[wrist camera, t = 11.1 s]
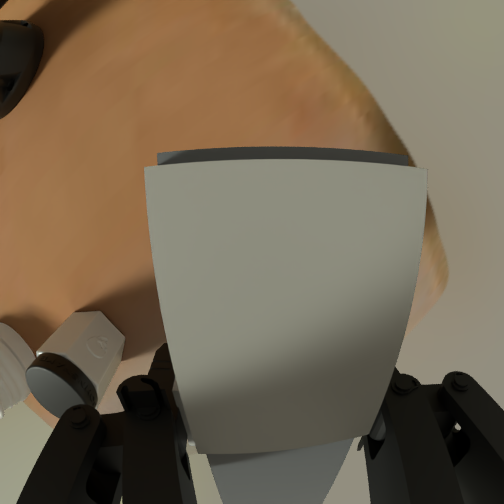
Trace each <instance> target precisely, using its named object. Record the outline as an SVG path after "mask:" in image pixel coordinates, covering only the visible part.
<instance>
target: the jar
mask: <svg viewBox="0 0 504 504" xmlns="http://www.w3.org/2000/svg"><path fill="white" fill-rule="evenodd" d="M124 343H125V336H124V335H123V334H122V333H121V332H120V331H119V330H118V329H117V328H116V327H115V326H114V325H113V324H112V323H111V322H110V321H109V320H108V319H107V317H106V316H105V315H104V314H103V313H102V312H101V311H90V312H74V313H72V314H71V315H70V316H69V317H68V318H67V319H66V320H65V321H64V322H63V323H62V324H61V325H60V326H59V328H58V329H57V330H56V331H55V332H54V333H53V334H52V335H51V336H50V337H49V338H48V339H47V340H46V341H45V342H44V344H43V345H42V346H41V347H40V348H39V349H38V350H37V352H36V354H37V358H36V359H35V360H34V361H33V362H32V363H31V365H30V366H29V367H28V368H27V370H26V374H25V376H26V382H27V385H28V387H29V389H30V391H31V393H32V394H33V396H34V397H35V398H36V400H37V401H38V402H39V403H40V404H41V405H42V406H43V407H44V408H45V409H46V410H48V411H49V412H50V413H51V414H53V415H54V416H56V417H58V418H61V416H62V414H63V413H64V412H65V411H66V410H67V409H68V408H70V407H72V406H74V405H79V404H88V405H90V406H92V407H94V408H95V409H97V408H98V406H99V404H100V402H101V400H102V398H103V396H104V394H105V392H106V390H107V388H108V386H109V384H110V382H111V380H112V378H113V376H114V374H115V372H116V370H117V368H118V366H119V365H120V363H121V358H122V353H123V348H124Z"/></svg>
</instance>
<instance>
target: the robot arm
mask: <svg viewBox="0 0 504 504" xmlns="http://www.w3.org/2000/svg"><path fill="white" fill-rule="evenodd" d="M7 1H8V0H0V9H1V8H2V7H3V6H4V4H5V3H6V2H7ZM43 45H44V37H43V33H42V30H41V29H40V28H39V27H38V26H36V25H35V24H33V23H31V22H29V21H24V20H0V119H1V118H3V117H4V116H5V115H7V114H8V113H9V112H10V111H11V110H12V109H13V108H14V107H15V105H16V104H17V103H18V102H19V100H20V99H21V98H22V96H23V95H24V93H25V91H26V90H27V88H28V87H29V85H30V83H31V81H32V79H33V77H34V75H35V73H36V70H37V68H38V65H39V62H40V59H41V56H42V52H43ZM116 393H117V395H118V397H119V399H120V402H121V404H122V406H123V408H124V410H125V411H123V412H119V413H112V414H102V415H100V414H99V412H98V411H97V410H96V409H95V408H94V407H92V406H90V405H88V404H79V405H74V406H72V407H70V408H68V409H67V410H66V411H65V412H64V413H63V414H62V416H61V418H60V419H59V421H58V423H57V425H56V426H55V428H54V430H53V432H52V434H51V436H50V437H49V439H48V441H47V443H46V444H45V446H44V448H43V450H42V452H41V454H40V456H39V458H38V459H37V461H36V464H35V465H34V468H33V469H32V471H31V474H30V475H29V477H28V479H27V482H26V484H25V486H24V488H23V490H22V492H21V494H20V497H19V499H18V501H17V503H16V504H120V501H121V497H122V503H123V504H197V500H196V495H195V490H194V485H193V480H192V474H191V469H190V463H189V457H188V454H187V452H186V444H187V439H188V442H189V445H190V446H195V443H194V440H193V436H192V433H191V430H190V427H189V424H188V420H187V417H186V414H185V410H184V407H183V403H182V400H181V396H180V392H179V389H178V385H177V381H176V377H175V373H174V369H173V365H172V361H171V356H170V352H169V348H168V343H164V344H163V345H162V346H161V347H160V348H159V349H158V350H157V351H156V353H155V356H154V359H153V362H152V364H151V367H150V370H149V372H148V375H137V376H132V377H130V378H128V379H126V380H124V381H123V382H122V383H121V384H120V385H119V387H118V389H117V391H116ZM457 423H458V424H459V425H460V426H461V429H460V430H457V429H455V425H456V424H457ZM363 445H364V452H365V458H366V466H367V474H368V482H369V491H370V501H371V504H504V411H503V409H502V408H501V407H500V406H499V405H498V404H497V403H496V402H495V401H494V400H493V399H492V397H491V396H490V395H489V394H488V393H487V392H486V391H485V390H484V389H483V388H482V387H481V386H480V385H479V384H478V383H477V382H476V381H475V380H474V379H473V378H472V377H471V376H470V375H468V374H466V373H463V372H458V371H454V372H450V373H448V374H447V375H445V377H444V379H443V381H442V384H431V385H421V384H420V382H419V381H418V380H417V379H416V378H414V377H413V376H410V375H406V374H400V373H399V371H398V370H397V368H396V367H395V368H394V371H393V374H392V377H391V380H390V383H389V386H388V388H387V391H386V394H385V396H384V399H383V402H382V404H381V407H380V409H379V412H378V414H377V416H376V419H375V421H374V423H373V426H372V428H371V430H370V432H369V434H367V435H363V436H362V437H361V440H360V442H359V444H358V449H357V451H359V450H361V448H362V446H363Z"/></svg>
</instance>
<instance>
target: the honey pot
mask: <svg viewBox="0 0 504 504" xmlns="http://www.w3.org/2000/svg"><path fill="white" fill-rule="evenodd" d="M35 359H36V358H35V356H34V354H33V352H32V350H31V349H30V348H29V346H28V345H27V343H26V342H25V341H24V340H23V339H22V337H21V336H20V335H19V334H18V333H17V332H16V331H15V330H14V329H12V328H11V327H9V326H8V325H6V324H4V323H1V322H0V418H3V416H4V410H6V409H7V408H12V407H13V405H16V404H17V403H18V402H20V401H24V400H25V399H26V398H27V397H28V395H29V394H30V392H31V391H30V389H29V387H28V385H27V382H26V376H25V374H26V370H27V368H28V367H29V366H30V365H31V363H32V362H33V361H34V360H35Z"/></svg>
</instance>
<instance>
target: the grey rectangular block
mask: <svg viewBox="0 0 504 504" xmlns="http://www.w3.org/2000/svg"><path fill="white" fill-rule="evenodd" d="M157 162H158V166H149V167H144V173H145V189H146V202H147V213H148V223H149V233H150V241H151V250H152V257H153V265H154V271H155V278H156V284H157V291H158V297H159V302H160V308H161V313H162V319H163V324H164V329H165V334H166V338H167V343H168V348H169V352H170V356H171V361H172V365H173V369H174V373H175V377H176V381H177V385H178V389H179V392H180V396H181V400H182V403H183V407H184V410H185V414H186V417H187V420H188V424H189V427H190V430H191V433H192V436H193V440H194V443H195V446H196V449H197V452H198V454H206V455H207V458H208V461H209V464H210V467H211V471H212V474H213V477H214V480H215V482H216V485H217V488H218V491H219V494H220V497H221V499H222V502H223V504H322V503H323V501H324V499H325V497H326V495H327V494H328V492H329V490H330V488H331V486H332V484H333V482H334V480H335V478H336V476H337V474H338V472H339V470H340V468H341V466H342V464H343V462H344V460H345V458H346V455H347V453H348V451H349V448H350V446H351V444H352V442H353V439H354V438H355V437H360V436H363V435H367V434H369V432H370V430H371V428H372V426H373V423H374V421H375V419H376V416H377V414H378V412H379V409H380V407H381V404H382V402H383V399H384V396H385V394H386V391H387V388H388V386H389V383H390V380H391V377H392V374H393V371H394V368H395V365H396V362H397V359H398V355H399V352H400V348H401V345H402V342H403V338H404V334H405V331H406V327H407V323H408V319H409V315H410V310H411V306H412V301H413V297H414V292H415V287H416V281H417V276H418V270H419V264H420V257H421V250H422V243H423V234H424V225H425V214H426V200H427V176H428V169H425V168H417V167H409V166H408V156H407V155H400V154H392V153H383V152H373V151H363V150H351V149H336V148H317V147H231V148H211V149H196V150H184V151H173V152H163V153H157Z"/></svg>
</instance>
